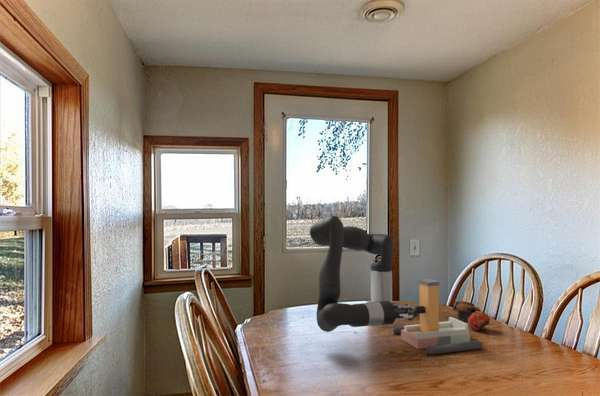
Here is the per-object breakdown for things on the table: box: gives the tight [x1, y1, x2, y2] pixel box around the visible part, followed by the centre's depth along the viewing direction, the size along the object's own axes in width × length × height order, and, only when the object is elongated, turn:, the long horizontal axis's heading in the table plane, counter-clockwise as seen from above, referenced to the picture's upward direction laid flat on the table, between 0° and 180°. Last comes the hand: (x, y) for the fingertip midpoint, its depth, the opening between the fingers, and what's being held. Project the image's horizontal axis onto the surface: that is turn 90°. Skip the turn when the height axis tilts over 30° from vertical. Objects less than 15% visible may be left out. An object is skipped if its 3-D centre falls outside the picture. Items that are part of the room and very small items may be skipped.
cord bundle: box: [392, 325, 405, 335], centre depth 140 cm, size 20×2×2 cm, turn 106°
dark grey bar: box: [425, 340, 483, 356], centre depth 121 cm, size 20×2×2 cm, turn 106°
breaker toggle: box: [418, 278, 440, 332], centre depth 130 cm, size 4×5×17 cm
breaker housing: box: [400, 316, 471, 350], centre depth 130 cm, size 20×10×6 cm, turn 106°
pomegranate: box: [467, 310, 491, 334], centre depth 141 cm, size 7×7×10 cm
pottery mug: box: [452, 300, 481, 323], centre depth 154 cm, size 12×10×8 cm
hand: (423, 309), depth 129 cm, fingers closed
